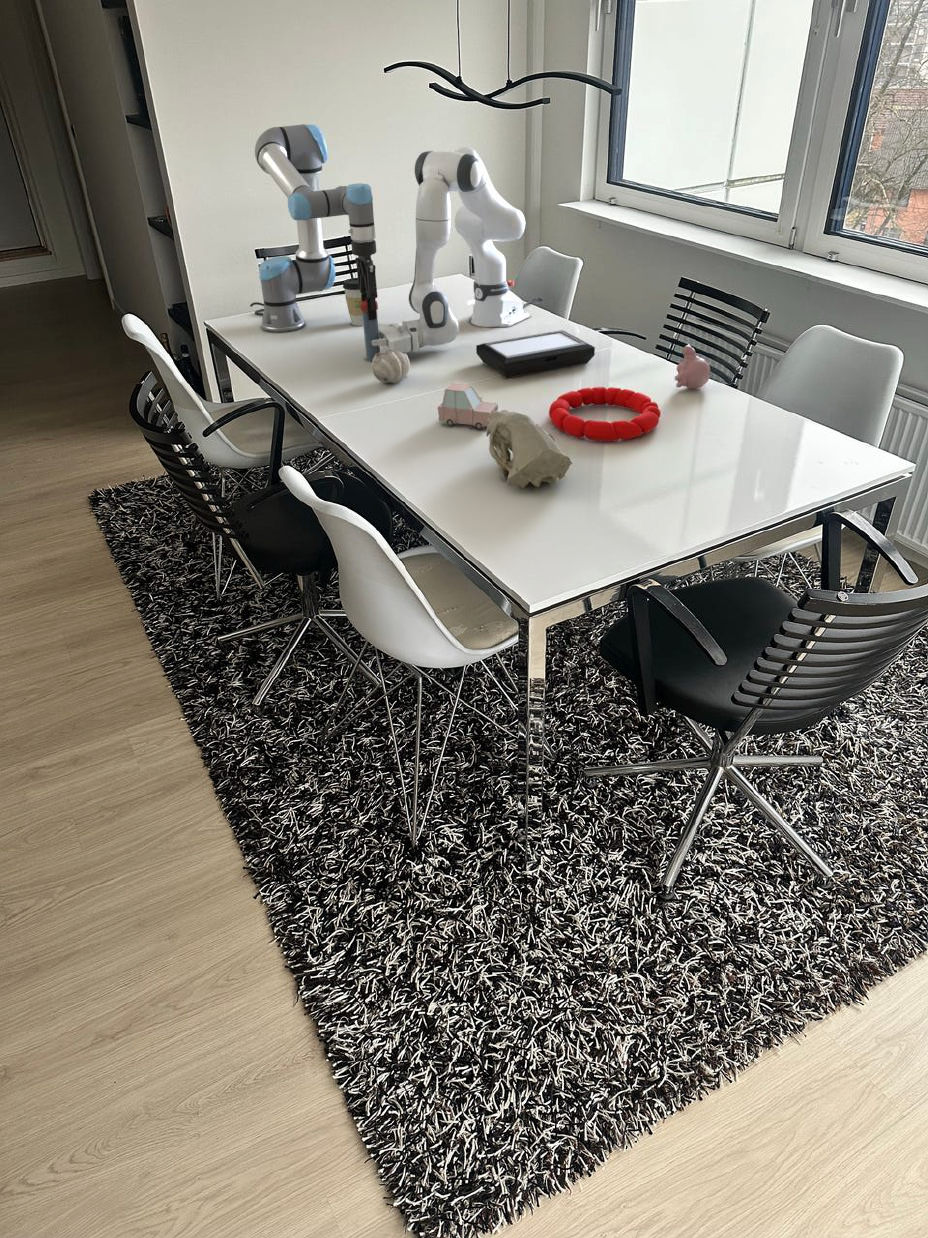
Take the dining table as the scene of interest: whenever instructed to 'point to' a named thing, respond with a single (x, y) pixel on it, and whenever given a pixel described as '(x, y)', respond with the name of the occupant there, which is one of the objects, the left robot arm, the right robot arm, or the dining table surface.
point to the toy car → (465, 406)
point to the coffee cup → (353, 301)
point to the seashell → (390, 366)
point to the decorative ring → (604, 428)
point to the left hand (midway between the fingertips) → (369, 316)
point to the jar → (370, 336)
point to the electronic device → (535, 353)
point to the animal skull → (525, 450)
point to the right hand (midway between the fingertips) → (369, 339)
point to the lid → (364, 306)
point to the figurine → (692, 370)
